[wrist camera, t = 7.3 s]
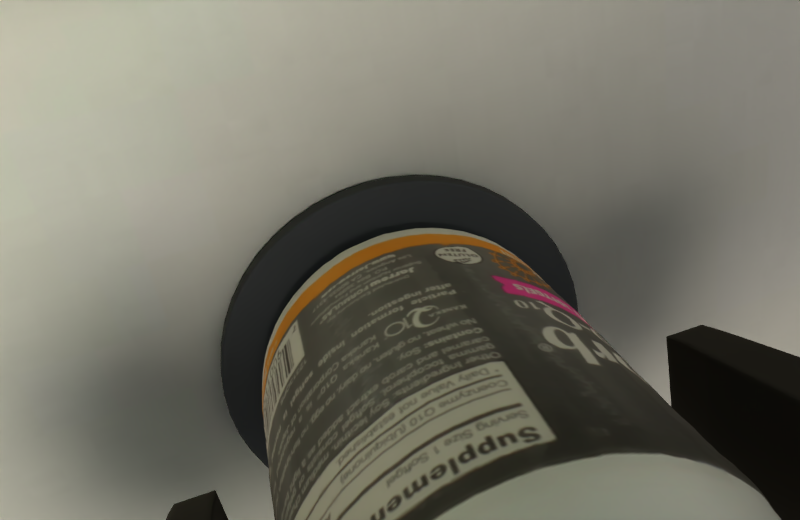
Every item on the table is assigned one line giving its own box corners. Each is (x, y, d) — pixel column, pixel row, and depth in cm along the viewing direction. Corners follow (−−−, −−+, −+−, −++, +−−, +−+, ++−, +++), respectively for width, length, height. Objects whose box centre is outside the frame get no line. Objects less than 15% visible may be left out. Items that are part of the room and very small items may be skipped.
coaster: (546, 128, 13) (556, 133, 13) (587, 429, 16) (596, 440, 16) (164, 241, 12) (163, 249, 12) (282, 536, 15) (284, 551, 15)
